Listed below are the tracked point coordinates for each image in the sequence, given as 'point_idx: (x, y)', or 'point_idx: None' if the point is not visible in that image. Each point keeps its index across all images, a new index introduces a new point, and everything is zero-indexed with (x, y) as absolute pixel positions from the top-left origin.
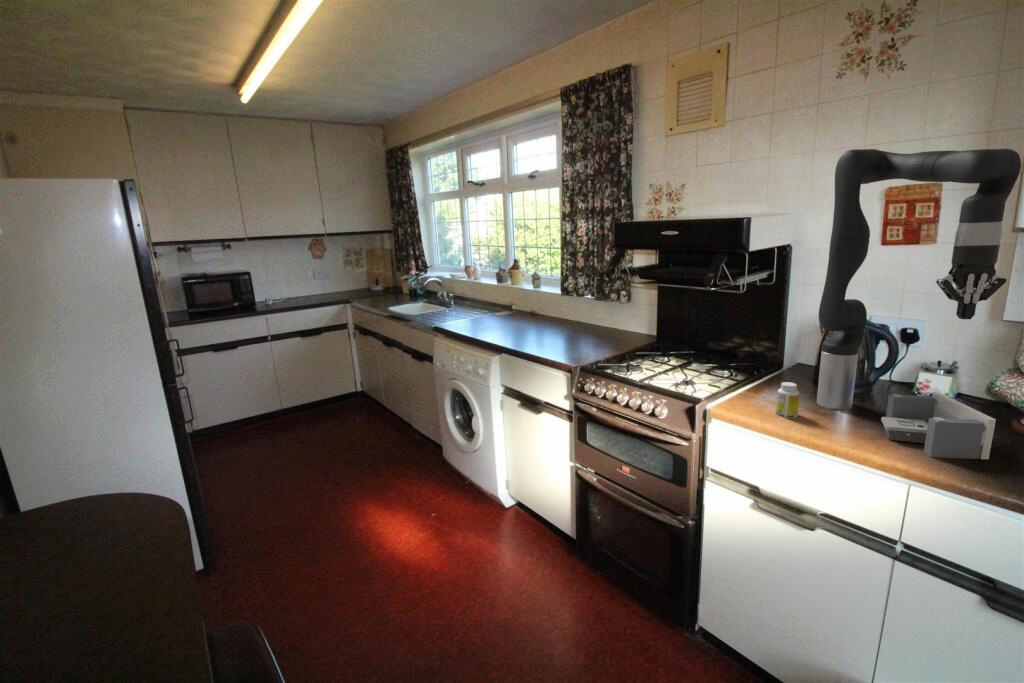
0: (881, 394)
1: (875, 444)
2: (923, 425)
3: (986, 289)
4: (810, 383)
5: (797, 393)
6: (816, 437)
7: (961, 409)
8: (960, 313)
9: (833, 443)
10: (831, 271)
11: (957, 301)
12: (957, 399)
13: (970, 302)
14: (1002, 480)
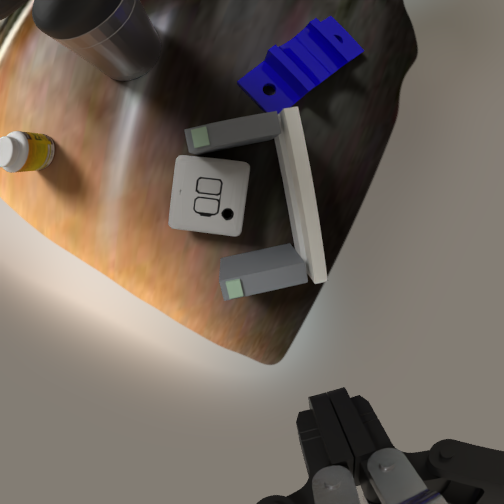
0: None
1: (155, 244)
2: (234, 207)
3: (482, 492)
4: None
5: (23, 161)
6: (75, 241)
7: (302, 208)
8: (301, 447)
9: (96, 260)
10: None
11: (302, 492)
12: (347, 55)
13: (361, 485)
14: (289, 324)
